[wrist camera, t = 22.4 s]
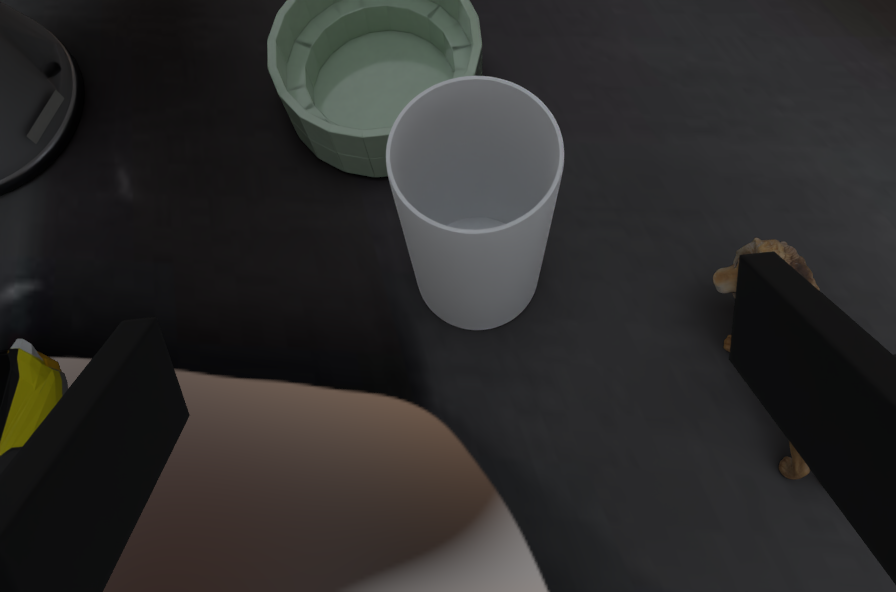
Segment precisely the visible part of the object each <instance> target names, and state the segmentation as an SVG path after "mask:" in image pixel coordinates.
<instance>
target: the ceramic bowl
mask: <svg viewBox="0 0 896 592" xmlns="http://www.w3.org/2000/svg"><path fill="white" fill-rule="evenodd" d="M267 58H268V71H269V73H270V75H271V78H272V80H273V83H274V85H275V88H276V90H277V92H278V95H279V97H280V99H281V101H282V103H283V105H284V107H285V109H286V111H287V113H288V116H289V118H290V120H291V122H292V124H293V126H294V128H295V130H296V132H297V134H298V136H299V138H300V139H301V140H302V141H303V142H304V144H305V145H306V146H307V147H308V148H309V149H310V150H311V151H312V152H313V153H314V154H315V155H316V156H317V157H318V158H319V159H321V160H323V161H325V162H327V163H328V164H330V165H332V166H334V167H336V168H338V169H340V170H342V171H344V172H347V173H353V174H358V175H364V176H370V177H386V176H388V174H387V167H386V147H387V141H388V137H389V134H390V131H391V128H392V126H393V124H394V122H395V120H396V119H397V117H398V115H399V114H400V113H401V111H402V110H403V109H404V107H405V106H406V105H407V104H408V103H409V102H410V101H411V100H412V99H413V98H415V97H416V96H417V95H418V94H420V93H421V92H423V91H424V90H426V89H428V88H430V87H431V86H433V85H435V84H438V83H440V82H443V81H446V80H449V79H453V78H458V77H465V76H482V39H481V32H480V24H479V17H478V15H477V13H476V11H475V9H474V8H473V6H472V4H471V2H470V0H287V1H286V2H285V3H284V5H283V6H282V7H281V8H280V10H279V11H278V13H277V15H276V17H275V20H274V23H273V26H272V29H271V31H270V34H269V37H268V40H267Z"/></svg>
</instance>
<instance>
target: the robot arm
mask: <svg viewBox="0 0 896 592" xmlns="http://www.w3.org/2000/svg"><path fill="white" fill-rule="evenodd" d="M83 103H84V85H83V79H82V75H81V72H80V69H79V67H78V65H77V63H76V61H75V59H74V58H73V56H72V55H71V54H70V52H69V51H68V50H67V49H66V48H65V47H64V45H63V44H62V43H61V42H60V41H59V40H58V39H57V38H56V37H55V36H54V35H53V34H52V33H51V32H50V31H48V30H47V29H46V28H44V27H43V26H42V25H40V24H39V23H38V22H36V21H34V20H32V19H31V18H29V17H27V16H25V15H23V14H22V13H20V12H18V11H16V10H14V9H13V8H11V7H9V6H7V5H5V4H4V3H2V2H0V195H2V194H4V193H7V192H9V191H11V190H14V189H16V188H18V187H20V186H21V185H23V184H25V183H27V182H28V181H30V180H31V179H33V178H34V177H36V176H37V175H38V174H40V173H41V172H42V171H43V170H45V169H46V168H47V167H48V166H49V165H50V164H51V163H52V162H53V161H54V160H55V159H56V158H57V157H58V156H59V155H60V153H61V152H62V151H63V149H64V148H65V147H66V145H67V144H68V142H69V141H70V139H71V138H72V136H73V134H74V132H75V130H76V128H77V125H78V123H79V120H80V117H81V113H82V109H83ZM729 360H730V361H731V363H732V364H733V365H734V367H735V368H736V369H737V371H738V372H739V373H740V375H741V376H742V378H743V379H744V380H745V382H746V383H747V384H748V386H749V387H750V388H751V390H752V391H753V392H754V394H755V395H756V396H757V398H758V399H759V401H760V402H761V403H762V405H763V406H764V407H765V409H766V410H767V411H768V413H769V414H770V415H771V417H772V418H773V419H774V421H775V422H776V424H777V425H778V426H779V428H780V429H781V430H782V432H783V433H784V434H785V436H786V437H787V438H788V440H789V441H790V442H791V444H792V445H793V447H794V448H795V449H796V451H797V452H798V453H799V455H800V456H801V457H802V459H803V460H804V461H805V463H806V464H807V465H808V467H809V468H810V470H811V471H812V472H813V474H814V475H815V476H816V478H817V479H818V480H819V482H820V483H821V484H822V486H823V487H824V488H825V490H826V491H827V493H828V494H829V495H830V497H831V498H832V499H833V501H834V502H835V503H836V505H837V506H838V507H839V509H840V510H841V511H842V513H843V514H844V516H845V517H846V518H847V520H848V521H849V522H850V524H851V525H852V526H853V528H854V529H855V530H856V532H857V533H858V534H859V536H860V537H861V538H862V540H863V541H864V543H865V544H866V545H867V547H868V548H869V549H870V551H871V552H872V553H873V555H874V556H875V557H876V559H877V560H878V561H879V563H880V564H881V566H882V567H883V568H884V570H885V571H886V572H887V574H888V575H889V576H890V578H891V579H892V580H893V582H894V583H895V584H896V354H895V355H892V354H891V353H890V352H889V351H888V350H887V349H886V348H884V347H883V346H882V345H881V344H880V343H879V342H878V341H876V340H875V339H874V338H873V337H872V336H871V335H870V334H868V333H867V332H866V331H865V330H864V329H863V328H861V327H860V326H859V325H858V324H857V323H856V322H855V321H853V320H852V319H851V318H850V317H849V316H848V315H847V314H845V313H844V312H843V311H842V310H841V309H840V308H839V307H837V306H836V305H835V304H834V303H833V302H832V301H831V300H829V299H828V298H827V297H826V296H825V295H824V294H823V293H821V292H820V291H819V290H818V289H817V288H816V287H814V286H813V285H812V284H811V283H810V282H809V281H808V280H806V279H805V278H804V277H803V276H802V275H801V274H800V273H798V272H797V271H796V270H795V269H794V268H793V267H792V266H790V265H789V264H788V263H787V262H786V261H785V260H784V259H782V258H781V257H780V256H779V255H778V254H777V253H776V252H774V251H772V252H762V253H753V254H743V255H740V256H739V266H738V276H737V286H736V296H735V306H734V316H733V326H732V336H731V346H730V356H729ZM188 417H189V412H188V409H187V406H186V403H185V400H184V398H183V395H182V391H181V389H180V385H179V383H178V380H177V377H176V374H175V371H174V368H173V365H172V362H171V359H170V356H169V353H168V350H167V347H166V344H165V341H164V338H163V335H162V332H161V329H160V326H159V323H158V320H157V317H149V318H139V319H130V320H123V321H122V322H121V323H120V324H119V326H118V327H117V328H116V330H115V331H114V332H113V333H112V335H111V336H110V337H109V338H108V340H107V341H106V342H105V343H104V345H103V346H102V347H101V348H100V350H99V351H98V352H97V353H96V355H95V356H94V357H93V358H92V360H91V361H90V362H89V364H88V365H87V366H86V367H85V369H84V370H83V371H82V372H81V374H80V375H79V376H78V377H77V379H76V380H75V381H74V382H73V384H72V385H71V386H70V387H69V389H68V390H67V391H66V392H65V394H64V395H63V396H62V398H61V399H60V400H59V401H58V403H57V404H56V405H55V406H54V408H53V409H52V410H51V411H50V413H49V414H48V415H47V416H46V418H45V419H44V420H43V421H42V423H41V424H40V425H39V426H38V428H37V429H36V430H35V432H34V433H33V434H32V435H31V437H30V438H29V439H28V440H27V442H26V443H25V444H24V445H23V447H13V448H10V449H9V450H7V451H6V452H5V453H3V454H2V455H1V456H0V592H103V590H104V588H105V586H106V584H107V582H108V580H109V578H110V576H111V574H112V572H113V570H114V568H115V566H116V563H117V561H118V560H119V557H120V556H121V554H122V551H123V549H124V547H125V545H126V543H127V541H128V539H129V537H130V535H131V533H132V531H133V529H134V527H135V525H136V523H137V521H138V519H139V517H140V515H141V513H142V511H143V509H144V507H145V505H146V503H147V501H148V499H149V497H150V495H151V493H152V491H153V489H154V487H155V485H156V482H157V480H158V478H159V476H160V474H161V472H162V470H163V468H164V466H165V464H166V462H167V460H168V458H169V456H170V454H171V452H172V450H173V448H174V446H175V444H176V442H177V440H178V438H179V436H180V434H181V432H182V430H183V428H184V426H185V424H186V422H187V419H188Z"/></svg>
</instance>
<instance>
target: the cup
mask: <svg viewBox="0 0 896 592" xmlns="http://www.w3.org/2000/svg"><path fill="white" fill-rule="evenodd" d="M563 166H564V146H563V139H562V135H561V132H560V129H559V126H558V124H557V122H556V120H555V118H554V117H553V115H552V113H551V112H550V111H549V109H548V108H547V107H546V106H545V105H544V103H543V102H542V101H541V100H539V99H538V98H537V97H536V96H535V95H533V94H532V93H531V92H529V91H528V90H526V89H525V88H523V87H521V86H519V85H517V84H515V83H512V82H509V81H506V80H503V79H499V78H495V77H488V76H465V77H458V78H453V79H449V80H446V81H443V82H440V83H438V84H435V85H433V86H431V87H430V88H428V89H426V90H424V91H423V92H421V93H420V94H418V95H417V96H416V97H415V98H413V99H412V100H411V101H410V102H409V103H408V104H407V105H406V106H405V107H404V109H403V110H402V111H401V113H400V114H399V115H398V117H397V119H396V120H395V122H394V124H393V126H392V128H391V131H390V134H389V137H388V141H387V147H386V167H387V174H388V179H389V182H390V186H391V190H392V193H393V197H394V201H395V204H396V208H397V212H398V215H399V219H400V223H401V226H402V230H403V233H404V237H405V241H406V244H407V248H408V251H409V255H410V259H411V262H412V266H413V269H414V273H415V277H416V280H417V284H418V288H419V291H420V293H421V296H422V298H423V300H424V301H425V303H426V304H427V306H428V307H429V308H430V309H431V311H432V312H433V313H434V314H436V315H437V316H438V317H439V318H441V319H442V320H443V321H445V322H447V323H449V324H451V325H453V326H456V327H459V328H463V329H468V330H486V329H492V328H496V327H498V326H501V325H503V324H506V323H508V322H509V321H511V320H513V319H514V318H515V317H517V316H518V315H519V314H520V313H521V312H522V311H523V310H524V309H525V308H526V307H527V305H528V304H529V302H530V301H531V299H532V297H533V295H534V293H535V290H536V287H537V283H538V278H539V274H540V269H541V265H542V261H543V256H544V252H545V247H546V243H547V239H548V234H549V230H550V226H551V221H552V217H553V212H554V208H555V204H556V199H557V195H558V190H559V186H560V181H561V177H562V172H563Z"/></svg>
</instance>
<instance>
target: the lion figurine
mask: <svg viewBox="0 0 896 592" xmlns="http://www.w3.org/2000/svg"><path fill="white" fill-rule="evenodd" d="M772 251H774V252H776V253H777V254H778V255H779V256H780V257H781V258H782V259H784V260H785V261H786V262H787V263H788V264H789V265H790V266H792V267H793V268H794V269H795V270H796V271H797V272H798V273H800V274H801V275H802V276H803V277H804V278H805V279H806V280H808V281H809V282H810V283H811V284H812V285H813V286H814V287H816V288H817V289H818V290H820V289H819V288H818V286H817V284H816V283H815V279H814V278H813V274H812V272H811V270H810V269H809V268H808V267H807V266H806V263H805V260H804V258H803V257H801V256H799V255H798V254H797V252H796V250H795V248H793V247H791V246H788V245H787V243H786V242H779V241H777V240H774V239H773V240H762V241H761V240H760V239H759V238H755V239H754V240H753V241H752V242H751V243H748V244H747V245H745V246H744V247H742V248H741V249H739V250H738V251H737V252H736V257H735V259H734V264H733V265H732V266H730V267H726V268H721V269H719V270H717V271H716V273H715V274H714V276H713V283H714V285H715V286H716V289H717V291H719V292H720V293H733V296H734V298H735V296H736V286H737V276H738V266H739V256H740V255H743V254H753V253H762V252H772ZM731 336H732V335H728V336H727V338H726V339H725V340H724V349H725V350H727V351H728V352H730V346H731ZM789 445H790V451H791V456H792V458H790V457H787V456H786V457H784V458H783V459H782V460H781V461H780V464H779V470H780V472H781V473H782V475H783V476H785V477H786V478H788V479H800V478H803V477H804V476H806V475H807V474H809V472H810V469H809V467H808V465H807V464H806V463H805V461H804V460H803V459H802V457H801V456H800V455H799V453H798V452H797V451H796V449H795V448H794V447H793V445H792V444H791V442H790V441H789Z"/></svg>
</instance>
